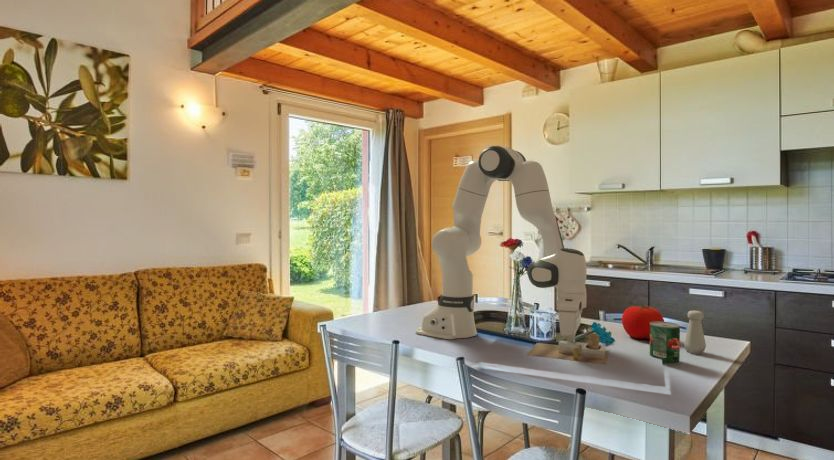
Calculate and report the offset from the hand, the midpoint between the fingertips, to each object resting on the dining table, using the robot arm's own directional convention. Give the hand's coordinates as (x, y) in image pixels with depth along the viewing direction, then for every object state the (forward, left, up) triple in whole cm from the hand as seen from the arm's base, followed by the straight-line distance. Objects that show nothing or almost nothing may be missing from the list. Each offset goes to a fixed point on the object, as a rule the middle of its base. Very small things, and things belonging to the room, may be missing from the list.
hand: (571, 344), depth 147 cm
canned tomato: (+26, +3, -3) cm, 26 cm away
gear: (+8, +14, -3) cm, 16 cm away
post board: (0, -5, -3) cm, 6 cm away
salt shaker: (+35, +17, -3) cm, 39 cm away
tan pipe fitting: (+4, -5, -1) cm, 6 cm away
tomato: (+20, +30, -3) cm, 36 cm away
